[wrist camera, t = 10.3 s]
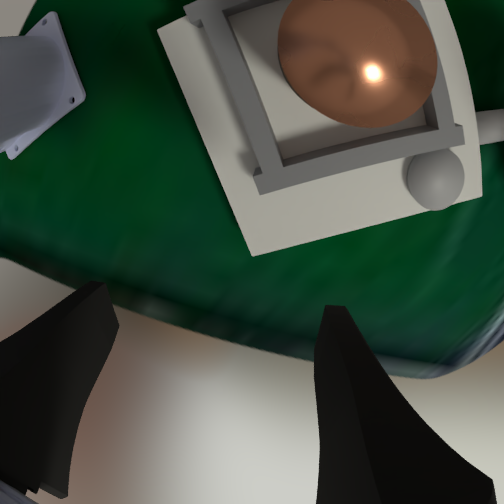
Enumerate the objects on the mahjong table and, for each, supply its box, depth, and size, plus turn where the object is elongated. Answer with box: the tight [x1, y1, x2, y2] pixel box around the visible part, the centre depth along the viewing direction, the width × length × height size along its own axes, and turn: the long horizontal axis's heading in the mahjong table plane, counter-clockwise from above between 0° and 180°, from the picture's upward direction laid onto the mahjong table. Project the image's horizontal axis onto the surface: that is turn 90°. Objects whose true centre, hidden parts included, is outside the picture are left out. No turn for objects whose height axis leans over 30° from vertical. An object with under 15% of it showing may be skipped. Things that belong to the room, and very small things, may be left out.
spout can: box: [277, 0, 438, 128], centre depth 9 cm, size 5×6×6 cm
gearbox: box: [157, 0, 504, 256], centre depth 13 cm, size 19×14×4 cm
